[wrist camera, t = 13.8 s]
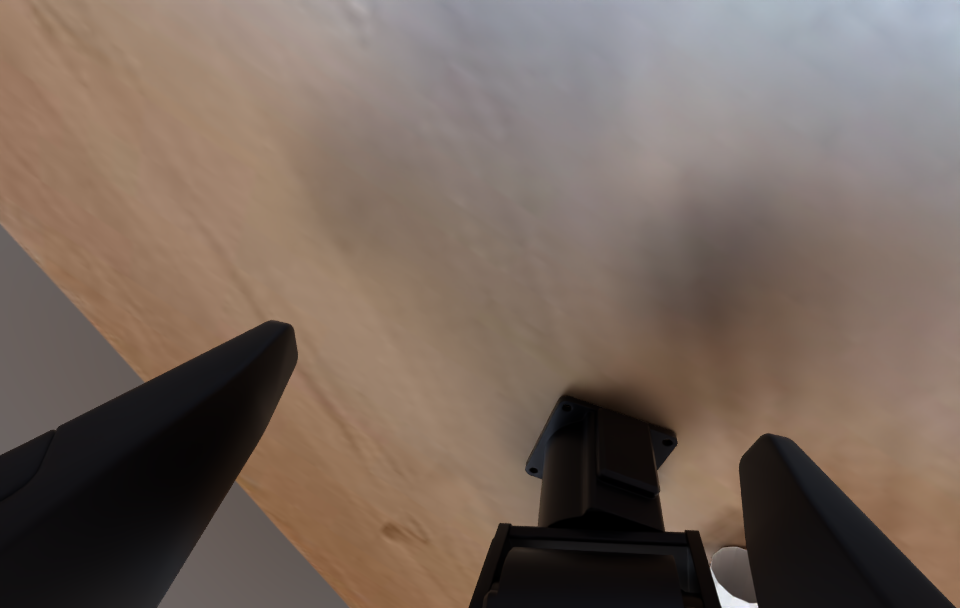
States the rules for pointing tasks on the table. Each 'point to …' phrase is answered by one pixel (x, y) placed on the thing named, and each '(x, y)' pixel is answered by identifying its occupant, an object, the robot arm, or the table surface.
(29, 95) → the table surface
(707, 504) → the table surface
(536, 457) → the robot arm
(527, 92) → the table surface
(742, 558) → the frying pan
